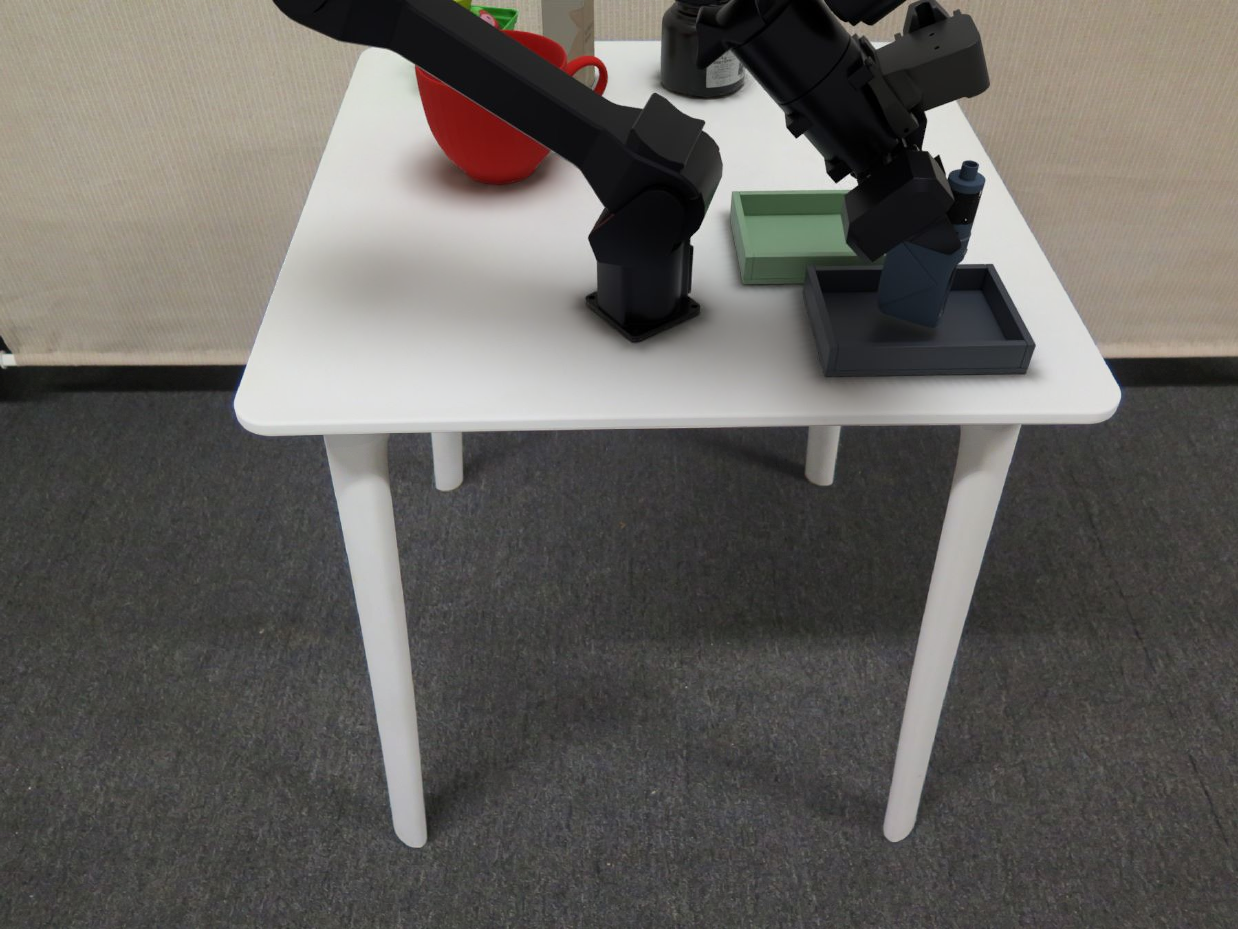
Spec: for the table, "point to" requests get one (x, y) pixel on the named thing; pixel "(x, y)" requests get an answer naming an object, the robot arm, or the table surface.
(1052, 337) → the table surface
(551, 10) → the box
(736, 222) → the sage tray
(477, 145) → the ceramic cup
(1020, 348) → the charcoal tray
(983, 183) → the vaping device
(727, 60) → the ink bottle
